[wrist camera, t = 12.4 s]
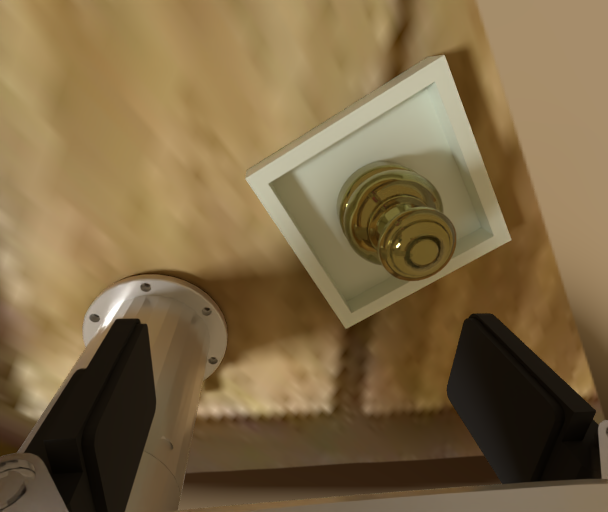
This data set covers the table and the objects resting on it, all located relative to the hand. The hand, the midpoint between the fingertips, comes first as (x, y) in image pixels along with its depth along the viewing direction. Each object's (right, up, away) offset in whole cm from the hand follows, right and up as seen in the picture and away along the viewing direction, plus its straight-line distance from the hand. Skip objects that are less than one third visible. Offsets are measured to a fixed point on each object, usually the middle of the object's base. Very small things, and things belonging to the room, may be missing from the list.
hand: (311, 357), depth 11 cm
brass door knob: (+6, +7, +21) cm, 23 cm away
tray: (+6, +8, +21) cm, 24 cm away
